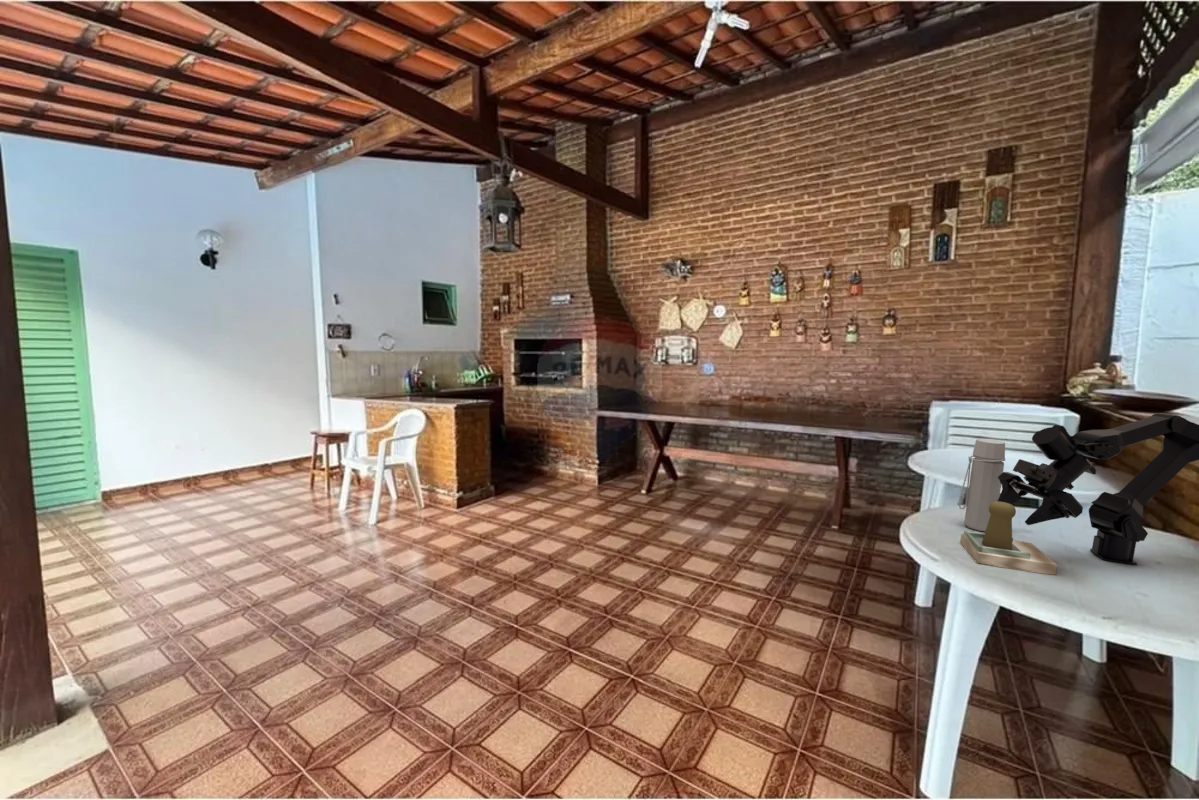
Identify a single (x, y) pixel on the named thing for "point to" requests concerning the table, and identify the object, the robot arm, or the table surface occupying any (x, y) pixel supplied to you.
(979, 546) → the dock
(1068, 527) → the table surface
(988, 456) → the water bottle
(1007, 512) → the cork
